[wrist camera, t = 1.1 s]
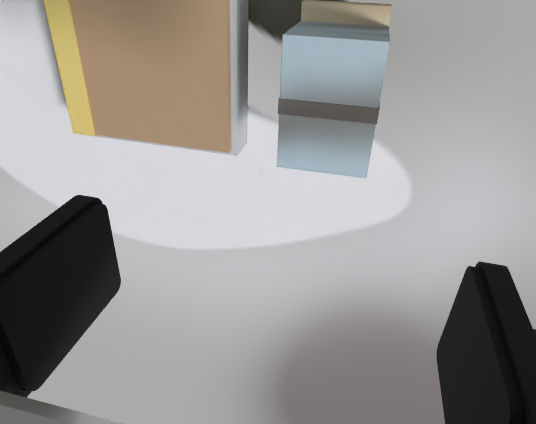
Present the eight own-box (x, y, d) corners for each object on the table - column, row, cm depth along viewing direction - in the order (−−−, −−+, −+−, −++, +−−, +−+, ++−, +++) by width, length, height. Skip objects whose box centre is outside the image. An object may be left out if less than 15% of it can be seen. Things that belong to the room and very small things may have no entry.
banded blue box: (304, -1, 25) (282, 11, 19) (392, 4, 24) (395, 17, 18) (295, 141, 29) (275, 182, 24) (368, 150, 28) (364, 194, 23)
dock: (64, -61, 26) (27, -63, 23) (248, -54, 24) (232, -55, 21) (98, 123, 32) (73, 138, 30) (246, 142, 30) (233, 160, 27)
